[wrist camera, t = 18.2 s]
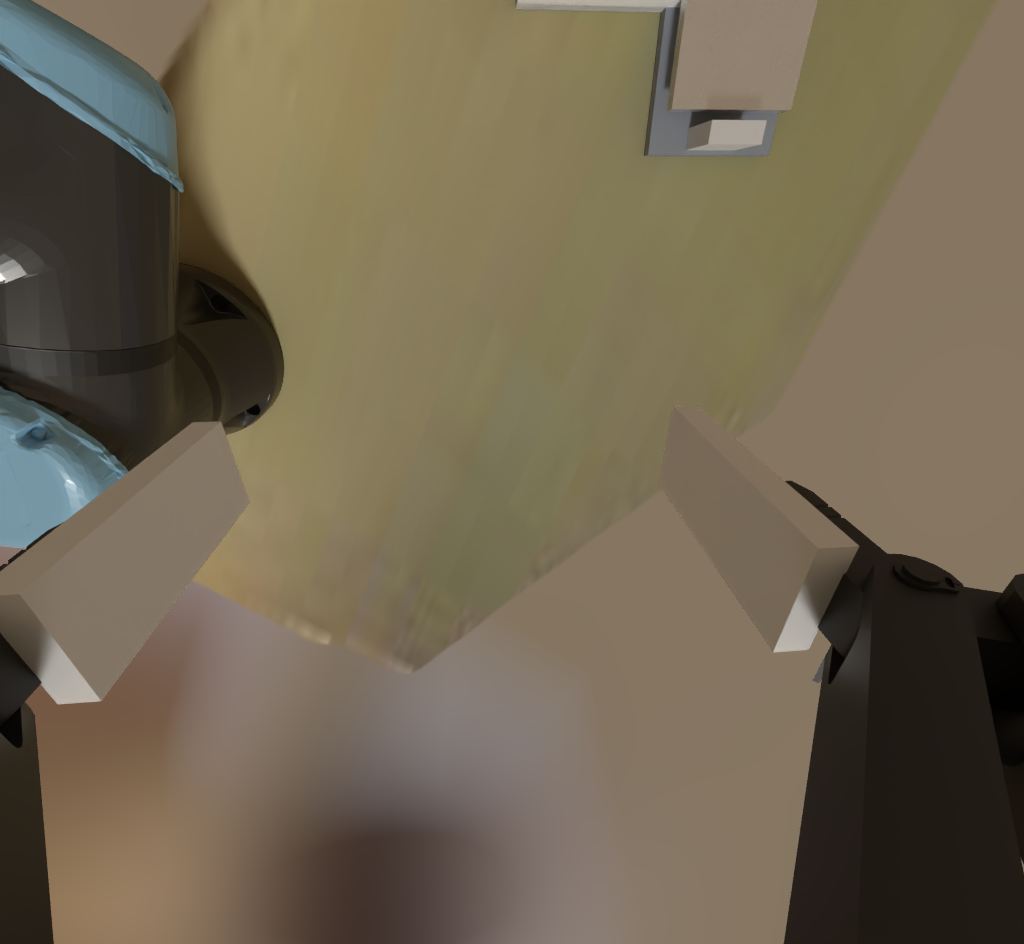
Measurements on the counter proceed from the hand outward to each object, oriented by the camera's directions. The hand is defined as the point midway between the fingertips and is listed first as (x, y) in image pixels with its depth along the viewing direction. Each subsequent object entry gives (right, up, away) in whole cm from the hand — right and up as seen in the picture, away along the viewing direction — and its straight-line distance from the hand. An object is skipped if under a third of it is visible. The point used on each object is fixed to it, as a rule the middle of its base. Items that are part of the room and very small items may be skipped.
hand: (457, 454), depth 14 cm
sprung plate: (+18, +30, +18) cm, 39 cm away
